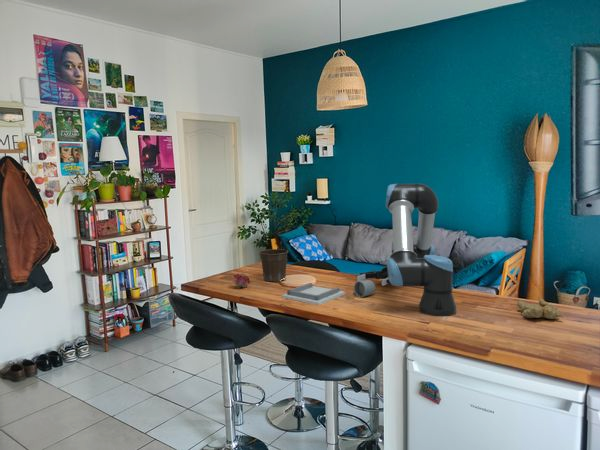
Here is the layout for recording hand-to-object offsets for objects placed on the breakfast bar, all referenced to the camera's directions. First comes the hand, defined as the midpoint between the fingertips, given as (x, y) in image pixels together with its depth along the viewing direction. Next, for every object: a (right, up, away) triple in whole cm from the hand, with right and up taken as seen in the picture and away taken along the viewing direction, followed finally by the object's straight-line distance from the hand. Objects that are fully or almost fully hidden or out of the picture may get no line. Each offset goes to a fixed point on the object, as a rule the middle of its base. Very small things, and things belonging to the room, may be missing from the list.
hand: (370, 281), depth 220 cm
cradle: (-28, -7, -3) cm, 29 cm away
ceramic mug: (-4, -7, -3) cm, 8 cm away
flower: (-65, -6, +16) cm, 67 cm away
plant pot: (-49, -3, +31) cm, 58 cm away
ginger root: (+61, -10, -40) cm, 74 cm away
